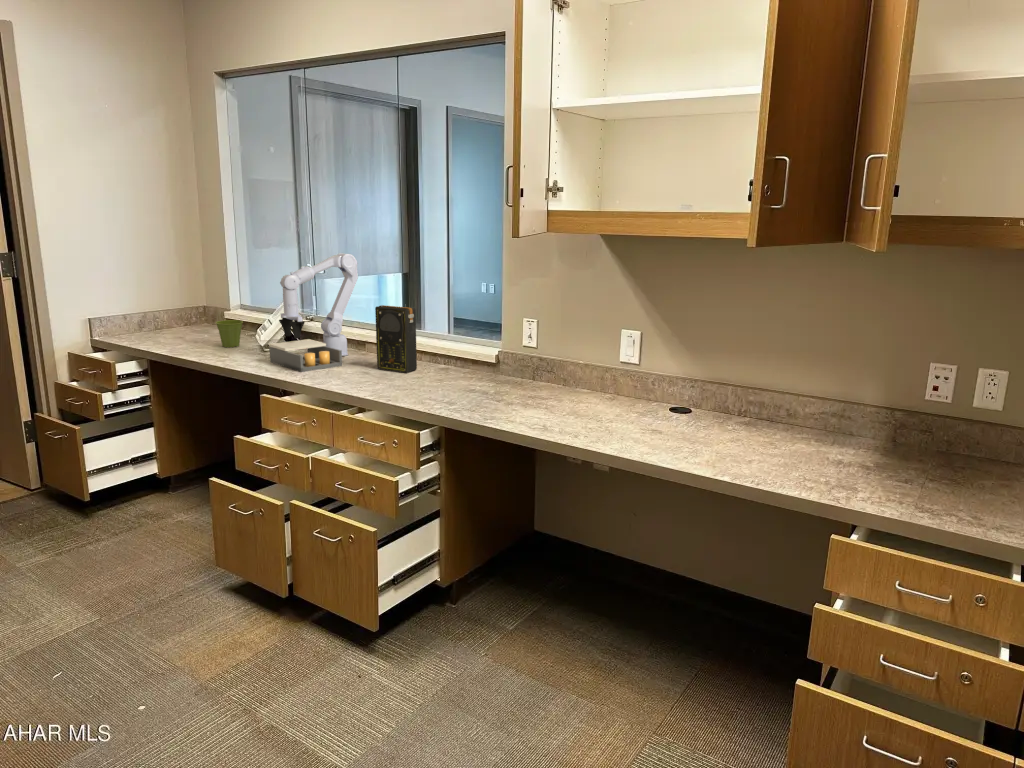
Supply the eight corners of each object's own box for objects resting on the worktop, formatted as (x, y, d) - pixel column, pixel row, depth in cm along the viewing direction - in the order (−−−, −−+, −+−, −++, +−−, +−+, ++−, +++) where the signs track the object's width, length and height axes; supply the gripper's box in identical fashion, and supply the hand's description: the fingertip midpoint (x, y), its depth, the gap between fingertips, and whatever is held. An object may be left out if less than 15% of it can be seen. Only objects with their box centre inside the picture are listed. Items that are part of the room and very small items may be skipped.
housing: (310, 356, 311) (309, 341, 309) (342, 365, 292) (341, 350, 291) (270, 361, 299) (269, 346, 297) (301, 372, 280) (300, 356, 279)
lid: (309, 343, 309) (309, 339, 309) (326, 348, 300) (326, 343, 299) (269, 348, 297) (269, 343, 297) (285, 353, 287) (285, 348, 287)
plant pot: (219, 349, 324) (217, 324, 322) (215, 345, 334) (213, 321, 332) (247, 347, 330) (245, 322, 327) (242, 343, 340) (240, 319, 337)
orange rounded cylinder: (313, 366, 289) (312, 352, 288) (317, 368, 286) (316, 354, 285) (303, 368, 287) (302, 353, 286) (307, 370, 284) (306, 355, 282)
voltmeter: (374, 369, 286) (372, 306, 280) (388, 365, 293) (386, 304, 288) (406, 374, 278) (404, 309, 273) (419, 370, 286) (418, 306, 280)
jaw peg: (326, 365, 294) (326, 350, 292) (332, 366, 291) (331, 351, 290) (317, 366, 291) (317, 351, 290) (323, 367, 288) (322, 353, 287)
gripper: (273, 303, 301) (275, 336, 304) (290, 306, 291) (292, 340, 294) (288, 302, 306) (290, 334, 309) (306, 305, 296) (308, 338, 299)
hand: (292, 337), depth 302 cm, fingers open, 7 cm apart
